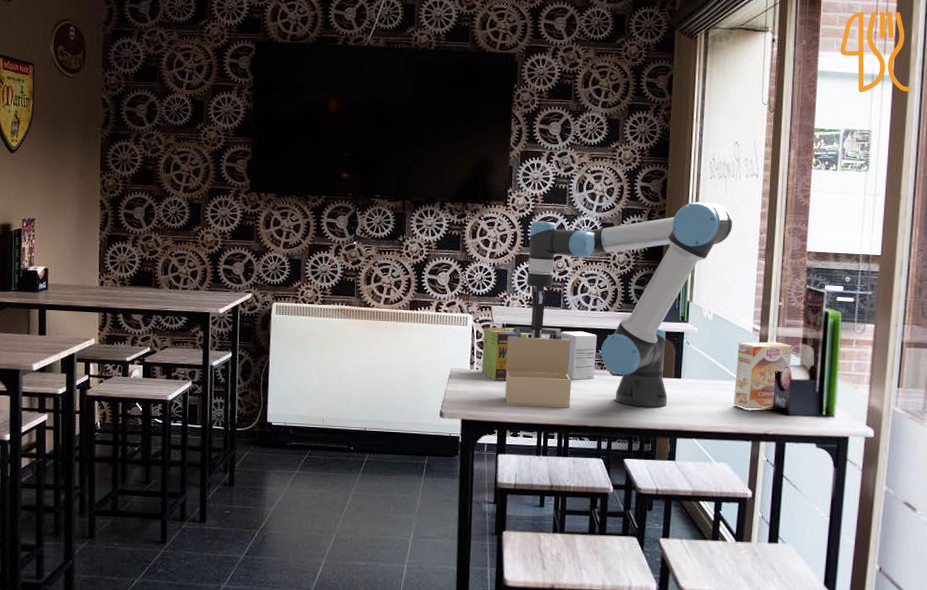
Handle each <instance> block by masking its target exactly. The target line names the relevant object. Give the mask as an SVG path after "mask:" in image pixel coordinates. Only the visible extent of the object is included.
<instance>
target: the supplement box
mask: <svg viewBox="0 0 927 590" xmlns="http://www.w3.org/2000/svg"><path fill="white" fill-rule="evenodd" d="M561 336H562V337H561V339H565V340H570V352H569V366H568V376H569V377H570V379H571V380H585V379H586V380H587V379H590V380H591V379H594V377H595V366H596V365H595V363H596V352H597V350H596V349H597V338H598V337H597V334H594V333H593V334H592V333H591V332H590V333H589V332H585V331H561ZM561 374H563V373H561Z"/></svg>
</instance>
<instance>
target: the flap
mask: <svg viewBox="0 0 927 590" xmlns="http://www.w3.org/2000/svg"><path fill="white" fill-rule="evenodd" d="M531 327H532V326H531ZM531 327H530V326H529V327H527V326H526V327H525V326H514V327H513V328H514V333H516V337H508V343H507V360H506V371H522V372H541V373H563V374H568V366H569V352H570V340H565V339H561V337H562V336H561V332H562V331H561V328H550V327H549V328H548V327H543V328H542V333H541V335H555V337H556V338H542V337H541V338H531V337H527V338H524V337H521V333H526V334H531V333H532V330H531Z"/></svg>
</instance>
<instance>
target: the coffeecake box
mask: <svg viewBox="0 0 927 590" xmlns="http://www.w3.org/2000/svg"><path fill="white" fill-rule="evenodd" d="M792 347H793V346H792V345H790V344H787V343H783V342H782V343H781V342H774V341H773V342H739V343H738V351H737V364H736V374H735V386H734V387H735V388H734V397H733V398H734V399H733V405H734V404H735V405H739V406H742V407H745V408H762V407H771V406H772V405H773V398H774V381H775V371H781V370H783V368H784V367H785V366H786V365H790V366H791V359H792V358H791V357H792ZM776 373H777V372H776Z"/></svg>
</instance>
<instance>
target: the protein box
mask: <svg viewBox="0 0 927 590" xmlns="http://www.w3.org/2000/svg"><path fill="white" fill-rule="evenodd" d="M508 337H516V333H514V327H493V326H492V327H490V326H489V327H484V331H483V345H482V346H483V348H482V364H481V365H482V366H481V367H482V369H481V373H483V374H484V375H486V376H488V377H489V378H490V379H492V380H493V381H498V382H500V381H501V382H503V381H504V382H506V374H507V371H506V360H507V343H508ZM521 337H524V338H528V333H521ZM520 372H522V371H520Z"/></svg>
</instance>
